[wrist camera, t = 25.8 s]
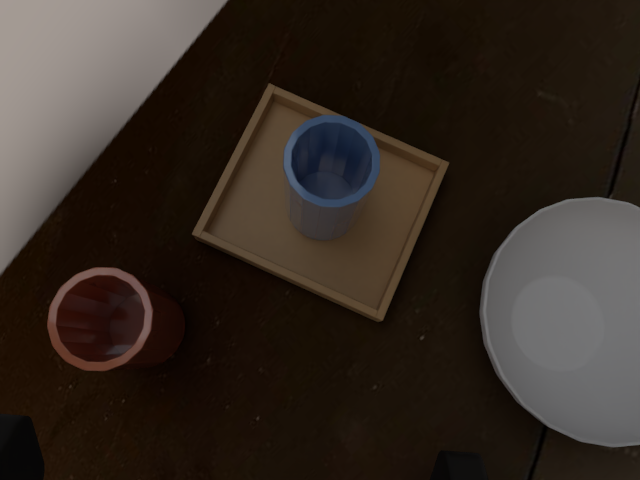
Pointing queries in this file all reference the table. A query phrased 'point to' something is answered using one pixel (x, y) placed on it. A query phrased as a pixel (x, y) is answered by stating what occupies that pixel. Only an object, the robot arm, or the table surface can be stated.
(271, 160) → the tray
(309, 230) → the blue cup
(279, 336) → the table surface
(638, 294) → the bowl
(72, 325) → the red cup
